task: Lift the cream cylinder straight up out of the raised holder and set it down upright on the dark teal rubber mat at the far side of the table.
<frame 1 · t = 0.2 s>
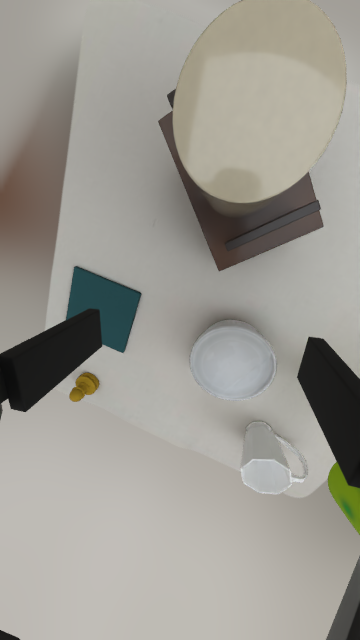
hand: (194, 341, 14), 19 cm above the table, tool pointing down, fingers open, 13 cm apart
mat: (101, 310, 37), on the table
ramekin: (231, 347, 35), on the table
mushroom: (316, 373, 33), on the table
cup: (267, 432, 38), on the table
cream cylinder: (241, 173, 18), point 10 cm above the table, touching holder
holder: (237, 194, 27), on the table
chess piece: (90, 381, 43), on the table
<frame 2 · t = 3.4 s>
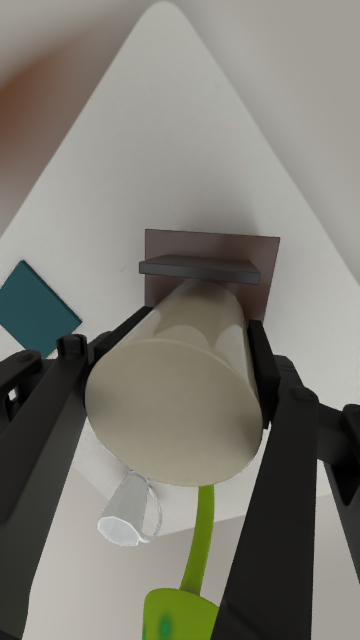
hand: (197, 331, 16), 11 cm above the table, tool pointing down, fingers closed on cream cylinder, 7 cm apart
mat: (34, 315, 33), on the table
mushroom: (205, 459, 36), on the table
cup: (145, 482, 41), on the table
cream cylinder: (200, 323, 17), point 10 cm above the table, touching holder, gripper
holder: (210, 293, 27), on the table
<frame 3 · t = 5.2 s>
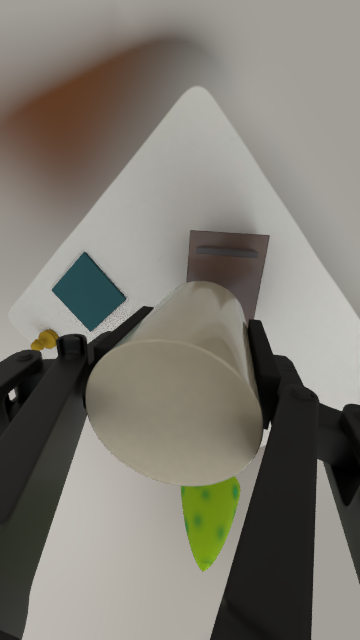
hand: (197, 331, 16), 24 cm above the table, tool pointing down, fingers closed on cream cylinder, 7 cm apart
mat: (88, 293, 44), on the table
mushroom: (216, 406, 47), on the table
cream cylinder: (200, 323, 17), point 22 cm above the table, touching gripper
holder: (223, 275, 38), on the table
chess piece: (51, 337, 50), on the table
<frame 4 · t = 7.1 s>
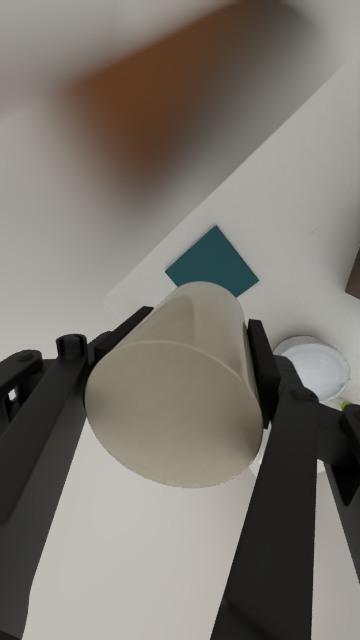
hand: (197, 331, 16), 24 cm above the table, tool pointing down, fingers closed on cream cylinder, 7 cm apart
mat: (210, 275, 38), on the table
ramekin: (299, 358, 40), on the table
cup: (277, 431, 46), on the table
cream cylinder: (200, 324, 17), point 22 cm above the table, touching gripper
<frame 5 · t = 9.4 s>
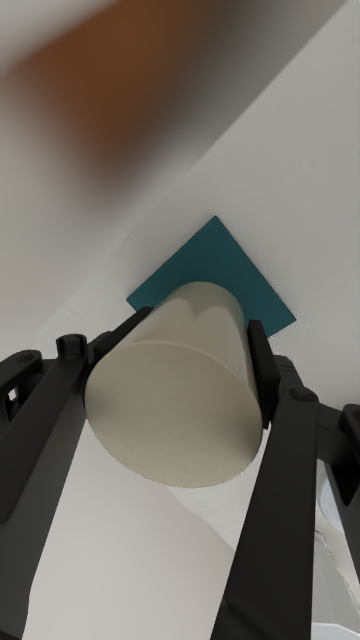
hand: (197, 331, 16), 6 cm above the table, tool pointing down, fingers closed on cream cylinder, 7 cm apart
mat: (206, 307, 21), on the table
cup: (314, 544, 29), on the table
cream cylinder: (200, 324, 17), point 4 cm above the table, touching gripper
when the fingers open (2 cm above the table, at t = 10.9 s): cream cylinder stays where it is, resting on mat.
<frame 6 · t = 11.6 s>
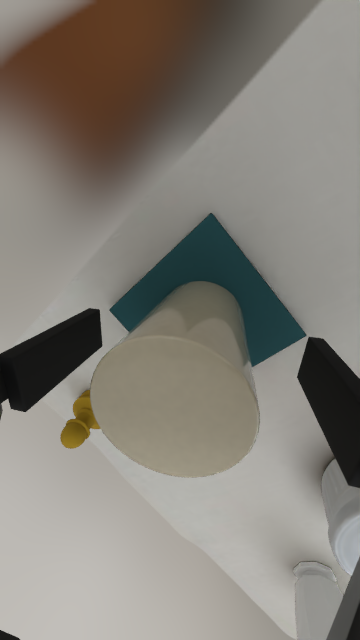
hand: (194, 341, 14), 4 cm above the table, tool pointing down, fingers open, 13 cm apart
mat: (201, 319, 18), on the table
cup: (322, 577, 26), on the table
cream cylinder: (200, 322, 18), point 1 cm above the table, touching mat
chess piece: (98, 403, 24), on the table
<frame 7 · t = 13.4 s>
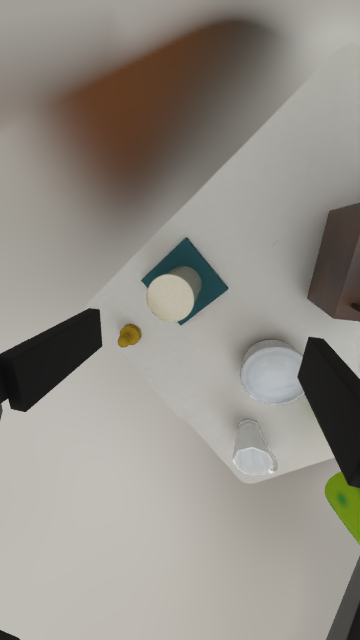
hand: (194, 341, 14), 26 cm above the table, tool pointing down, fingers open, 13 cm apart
mat: (183, 283, 40), on the table
ramekin: (269, 361, 42), on the table
mushroom: (316, 405, 43), on the table
cup: (254, 431, 48), on the table
cream cylinder: (183, 284, 40), point 1 cm above the table, touching mat
holder: (349, 259, 34), on the table
chess piece: (132, 332, 46), on the table
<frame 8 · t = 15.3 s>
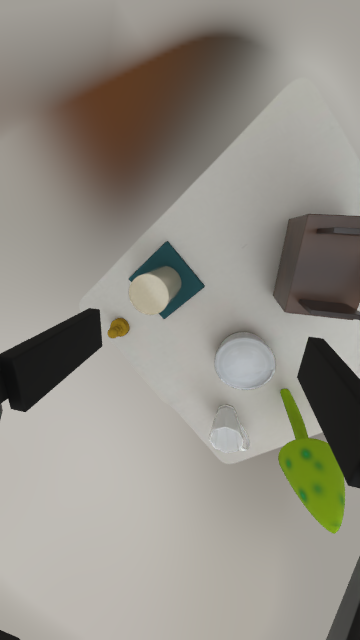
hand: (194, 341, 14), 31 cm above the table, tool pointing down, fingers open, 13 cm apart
mat: (166, 282, 45), on the table
ramekin: (242, 351, 47), on the table
mushroom: (284, 391, 48), on the table
cup: (231, 415, 53), on the table
cream cylinder: (165, 283, 45), point 1 cm above the table, touching mat
holder: (308, 261, 39), on the table
chess piece: (121, 325, 51), on the table
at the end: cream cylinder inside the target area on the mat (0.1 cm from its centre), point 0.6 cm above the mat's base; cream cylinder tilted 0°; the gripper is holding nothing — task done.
